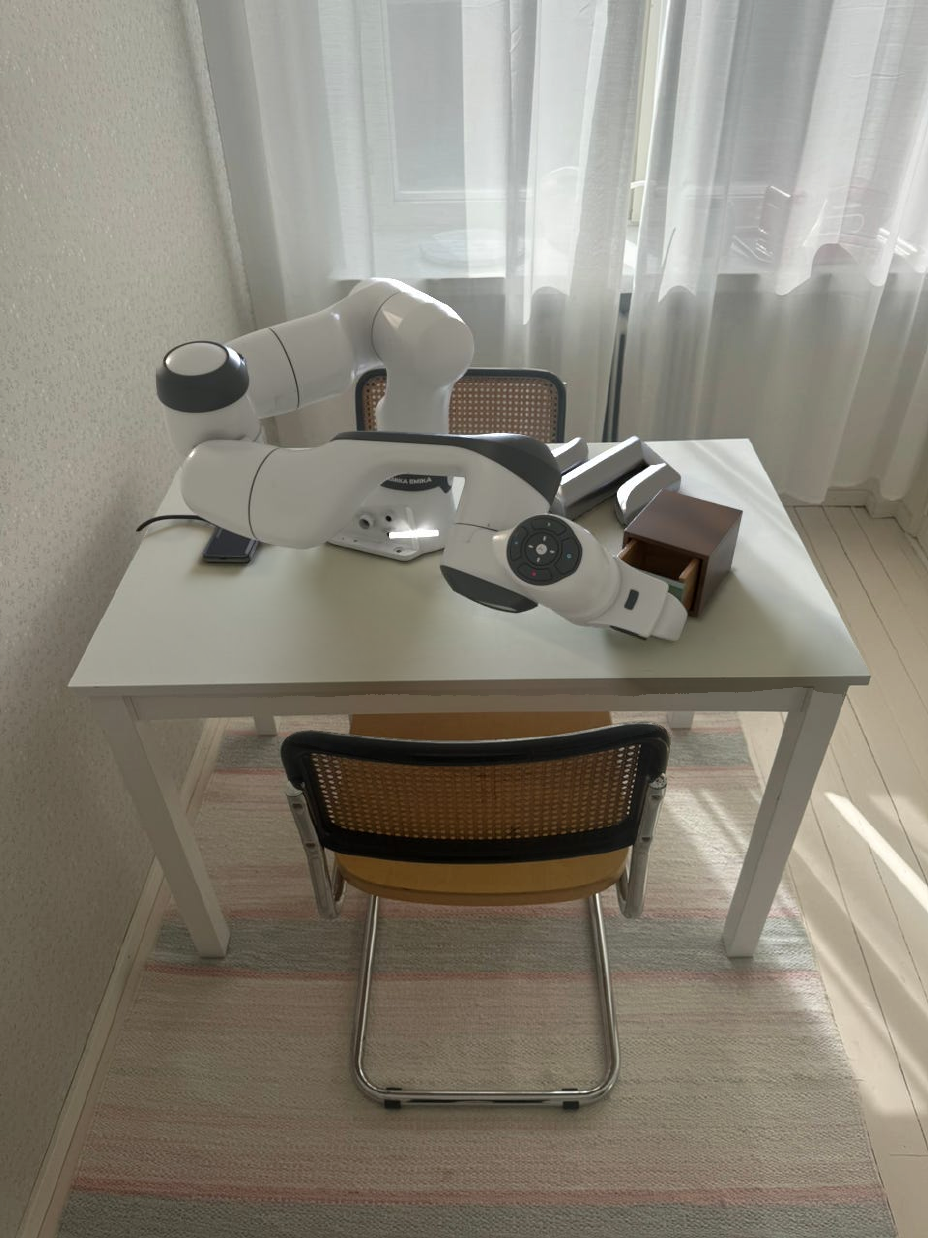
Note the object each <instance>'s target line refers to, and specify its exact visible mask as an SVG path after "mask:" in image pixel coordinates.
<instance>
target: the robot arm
mask: <svg viewBox="0 0 928 1238" xmlns="http://www.w3.org/2000/svg"><path fill="white" fill-rule="evenodd" d="M474 354H475V340H474V335H473V333H472V331H471V329H470V328H469V326H468V325H467V324H466V323H465V321H464V320H463V319H462V318H461V317H460V316H459V315H458V314H457V313H456V311H454V310H453V309H452V308H451V307H450V306H448V305H447V304H445V303H442V302H441V301H439V300H437V299H435V298H433V297H431V296H429V295H428V294H426V293H424V292H421V291H419V290H418V289H415V288H414V287H411V286H410V285H407V284H405V283H403V282H402V281H399V280H396V279H392V278H384V277H370V278H366V279H363V280H361V281H360V282H358V283H357V284H356V285H355V286H354V287H353V288H352V289H351V290H350V291H349V293H348V295H347V296H346V297H344V298H342V299H341V300H339V301H337V302H335V303H333V304H332V305H329V306H328V307H326V308H324V309H322V310H320V311H317V312H315V313H312V314H308V315H306V316H303V317H302V316H301V317H299V318H295V319H292V320H287V321H285V322H282V323H281V322H280V323H279V324H278V323H277V324H274V325H272V326H268V327H265V328H260V329H257V330H254V331H252V332H249V333H247V334H244V335H241V336H239V337H237V338H235V339H232V340H229V341H228V342H225V343H224V344H222V343H218V342H215V341H210V340H193V341H189V342H188V341H187V342H185V343H181V344H179V345H176V346H174V347H173V348H171V349H170V350H168V351H167V352H166V353H165V355H164V356H163V357H162V359H161V360H160V361H159V362H158V363H157V365H156V367H155V388H156V395H157V398H158V400H159V401H160V403H161V410H162V415H163V421H164V426H165V430H166V433H167V437H168V440H169V443H170V444H171V446H172V447H173V450H174V453H175V455H176V457H177V460H178V463H179V465H180V467H181V470H180V474H179V488H180V493H181V497H182V500H183V501H184V503H185V506H186V507H187V508H188V509H189V510H190V511H191V512H192V513H193V514H164V515H159V516H155V517H150V518H149V519H147V520H145V521H143V522H142V523H141V524H139V526H138V527H137V528H136V529H135V532H137V533H139V532H141V531H143V530H144V529H145V528H147V526H149V525H151V524H154V523H156V522H160V521H165V520H166V521H167V520H197V521H202V522H205V523H208V524H211V525H213V526H215V527H217V526H219V527H221V528H224V529H226V530H229V531H231V532H233V533H236V534H239V535H242V536H244V537H247V538H251V539H254V540H257V541H260V542H261V543H264V544H269V545H272V546H277V547H281V548H285V549H286V548H287V549H293V550H309V549H313V548H316V547H319V546H321V545H323V544H325V543H329V544H332V545H336V546H340V547H343V548H347V549H351V550H356V551H359V552H360V551H361V552H364V553H368V554H373V555H376V556H380V557H385V558H388V559H393V560H397V561H402V562H406V561H411V560H413V559H415V558H417V557H420V556H421V555H423V554H428V553H432V552H436V551H440V550H441V549H443V551H442V556H441V560H440V564H439V569H440V572H441V574H442V577H443V578H444V580H445V582H446V583H447V584H448V586H449V587H450V589H451V590H452V591H453V592H455V593H456V594H458V595H461V596H463V597H464V598H466V599H468V600H470V601H472V602H474V603H476V604H479V605H480V606H483V607H486V608H488V609H492V610H495V611H498V612H503V613H508V614H509V613H510V614H521V613H525V612H529V611H531V610H534V609H535V608H537V607H539V605H541V606H542V607H545V608H546V609H550V610H551V611H552V612H554V613H555V614H556V615H558V616H560V617H561V618H562V619H564V620H566V621H567V622H569V623H570V624H573V625H576V626H580V627H592V628H598V629H608V630H609V629H611V630H613V631H616V630H617V632H619V631H622V632H626V633H629V634H633V635H636V636H641V637H644V638H647V639H648V638H650V637H651V636H653V637H656V638H659V639H663V640H665V641H669V642H677V641H679V639H680V637H681V634H682V632H683V630H684V627H685V625H686V622H687V619H688V614H687V611H686V609H685V608H684V606H683V605H682V604H681V603H680V601H679V600H678V599H677V598H676V597H674V596H673V595H672V594H670V593H668V589H669V586H668V584H667V583H666V582H664V581H662V580H659V579H658V578H656V577H654V576H651V575H649V574H646V573H644V572H642V571H640V570H638V569H636V568H633V567H631V566H629V565H628V564H626V563H625V562H623V561H622V560H621V559H619V558H618V557H617V556H618V555H615V554H614V555H612V553H611V552H609V550H608V549H607V548H605V547H604V546H603V545H602V544H601V542H600V541H599V540H598V539H597V538H596V537H595V536H594V535H593V534H592V533H591V532H589V530H587V529H586V528H584V527H583V526H582V525H580V524H578V523H577V522H574V521H573V520H572V521H571V520H569V519H566V518H564V517H561V516H558V515H554V514H552V513H549V512H550V510H549V508H551V506H552V504H553V501H554V499H555V496H556V494H557V491H558V489H559V486H560V484H561V481H562V475H561V471H560V468H559V466H558V463H557V461H556V459H555V457H554V455H553V453H552V452H551V451H552V450H551V449H550V447H549V446H548V444H546V443H545V442H543V441H542V440H539V439H537V438H534V437H531V436H528V435H525V434H524V435H523V434H517V433H485V434H482V433H481V434H450V420H449V419H450V418H449V416H450V415H449V413H450V402H451V397H452V394H453V389H454V387H455V384H456V383H457V382H458V381H459V380H460V379H462V378H463V377H464V375H465V374H466V373H467V372H468V370H469V368H470V366H471V365H472V362H473V359H474ZM376 367H384V369H385V372H386V384H385V385H386V386H385V391H384V395H383V396H382V397H381V399H380V400H379V401H378V402H377V405H376V407H375V411H374V413H375V415H374V416H375V425H376V430H352V431H351V430H350V431H343V432H339V433H337V434H336V435H335V436H334V437H333V438H332V439H331V440H330V441H329V442H327V443H324V444H321V445H319V446H315V447H310V448H304V449H291V448H285V447H282V446H277V445H273V444H269V443H265V437H264V431H263V425H262V421H261V419H266V418H271V417H276V416H278V415H279V416H280V415H283V414H287V413H290V412H293V411H296V410H299V409H303V408H304V407H308V406H311V405H314V404H318V403H321V402H324V401H326V400H329V399H332V398H336V397H339V396H341V395H344V394H345V393H347V392H348V391H349V390H350V389H351V388H352V386H353V384H354V382H355V380H356V378H358V377H359V376H361V375H362V374H364V373H365V372H367V371H369V370H371V369H373V368H376ZM454 478H464V484H463V487H462V491H461V495H460V498H459V502H458V505H457V506H456V502H455V496H454V491H453V485H454V480H455V479H454ZM622 632H621V633H622Z"/></svg>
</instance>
